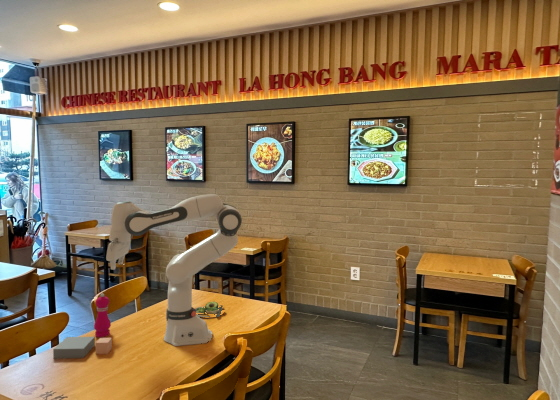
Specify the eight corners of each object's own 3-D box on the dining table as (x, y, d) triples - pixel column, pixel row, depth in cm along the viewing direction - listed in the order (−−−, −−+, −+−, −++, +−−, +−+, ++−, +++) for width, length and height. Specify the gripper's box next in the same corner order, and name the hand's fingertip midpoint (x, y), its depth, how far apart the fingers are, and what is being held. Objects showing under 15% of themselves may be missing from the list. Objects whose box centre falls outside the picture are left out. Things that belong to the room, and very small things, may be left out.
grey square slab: (94, 345, 172) (94, 336, 172) (83, 357, 160) (83, 348, 160) (66, 345, 171) (66, 337, 171) (53, 358, 159) (53, 349, 159)
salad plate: (232, 317, 211) (232, 309, 211) (200, 322, 203) (200, 314, 203) (220, 306, 228) (220, 299, 228) (190, 311, 220) (190, 303, 220)
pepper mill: (104, 338, 180) (104, 296, 179) (90, 336, 181) (90, 295, 180) (113, 332, 187) (113, 291, 186) (100, 331, 188) (100, 290, 187)
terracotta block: (111, 348, 170) (111, 337, 169) (107, 354, 165) (107, 342, 164) (100, 349, 169) (99, 337, 169) (95, 354, 164) (95, 342, 164)
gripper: (119, 241, 164) (115, 273, 164) (133, 234, 184) (130, 262, 185) (104, 239, 163) (100, 271, 164) (120, 232, 184) (117, 261, 184)
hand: (116, 266), depth 175 cm, fingers open, 8 cm apart
